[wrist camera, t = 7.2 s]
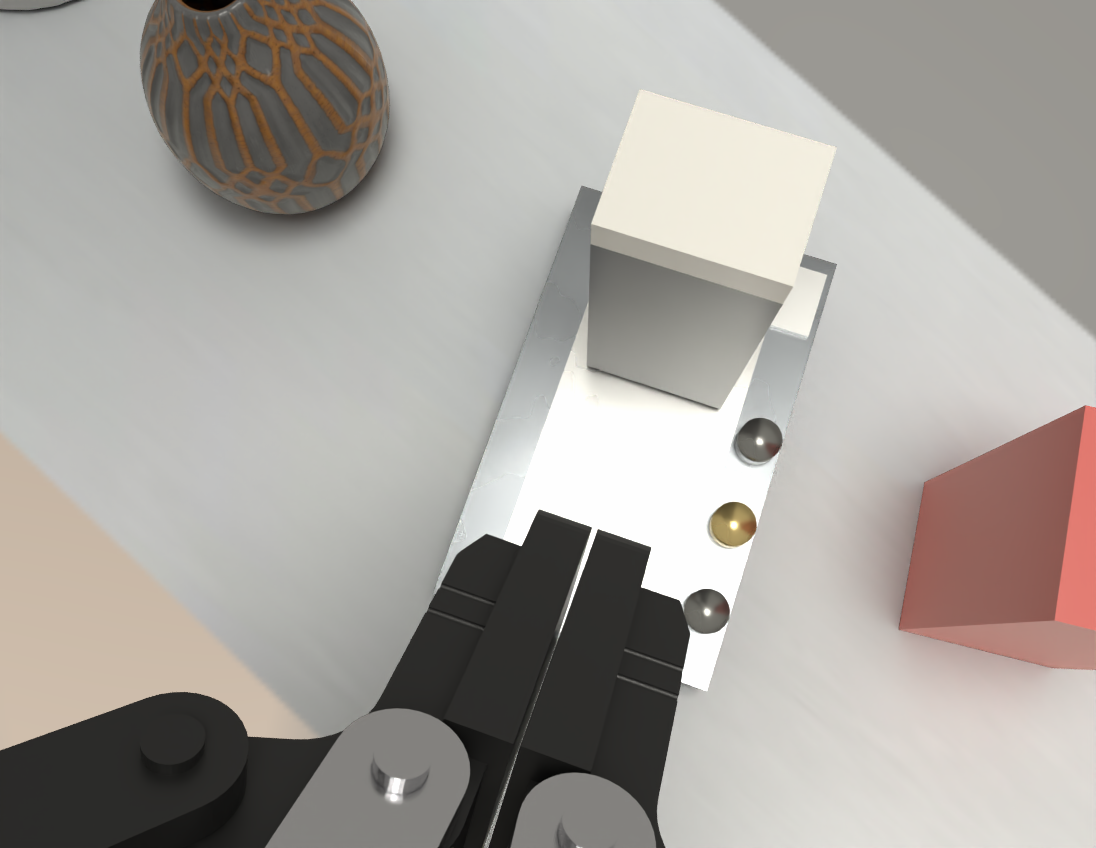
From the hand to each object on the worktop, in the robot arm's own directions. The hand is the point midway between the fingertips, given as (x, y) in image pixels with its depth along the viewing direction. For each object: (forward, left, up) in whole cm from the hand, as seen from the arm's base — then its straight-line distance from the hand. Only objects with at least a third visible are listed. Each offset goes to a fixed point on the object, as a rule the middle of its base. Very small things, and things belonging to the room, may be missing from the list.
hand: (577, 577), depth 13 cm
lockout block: (+11, +4, -18) cm, 22 cm away
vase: (-13, +13, -18) cm, 25 cm away
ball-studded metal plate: (+1, +6, -18) cm, 19 cm away
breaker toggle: (+1, +8, -15) cm, 17 cm away
